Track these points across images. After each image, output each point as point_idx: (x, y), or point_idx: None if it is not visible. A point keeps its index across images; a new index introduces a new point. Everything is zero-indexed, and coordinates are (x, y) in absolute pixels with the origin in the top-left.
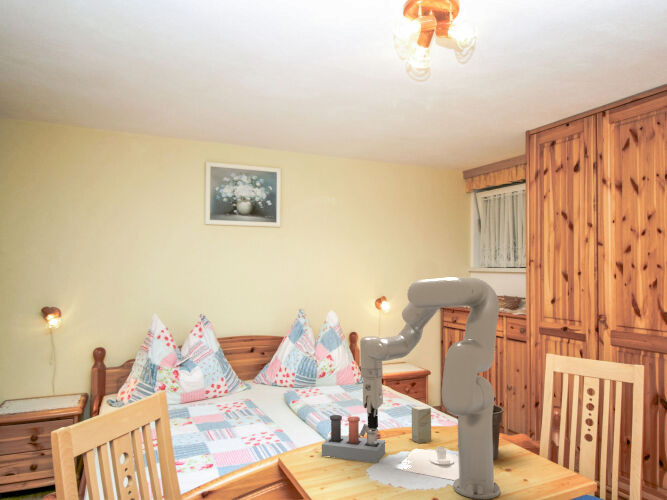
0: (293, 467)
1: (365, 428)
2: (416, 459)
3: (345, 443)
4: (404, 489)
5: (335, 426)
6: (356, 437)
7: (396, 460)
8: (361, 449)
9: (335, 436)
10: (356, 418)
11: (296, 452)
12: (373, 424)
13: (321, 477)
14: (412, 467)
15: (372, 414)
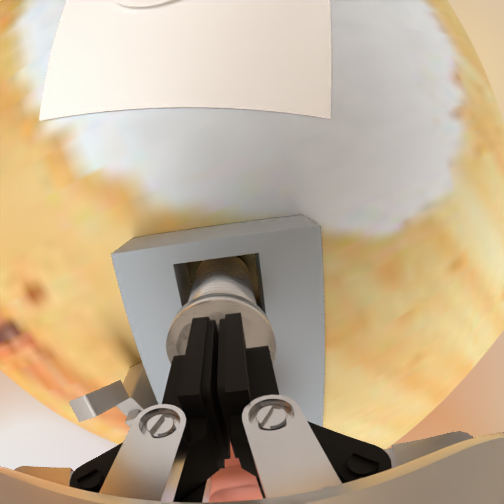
0: (409, 424)
1: (100, 400)
2: (173, 53)
3: None
4: (464, 66)
5: None
6: None
7: (219, 139)
8: (324, 317)
9: None
10: (247, 490)
11: None
12: (270, 356)
13: (463, 334)
14: (282, 45)
15: (338, 438)
